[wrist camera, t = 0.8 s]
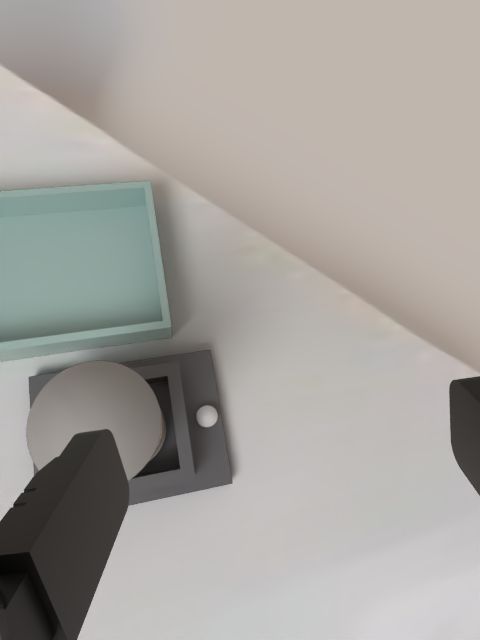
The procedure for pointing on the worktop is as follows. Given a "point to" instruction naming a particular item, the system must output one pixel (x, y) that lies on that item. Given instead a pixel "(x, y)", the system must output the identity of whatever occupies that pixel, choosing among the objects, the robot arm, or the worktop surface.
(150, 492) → the fuse holder
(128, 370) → the cylinder
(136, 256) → the parts tray
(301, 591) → the worktop surface
